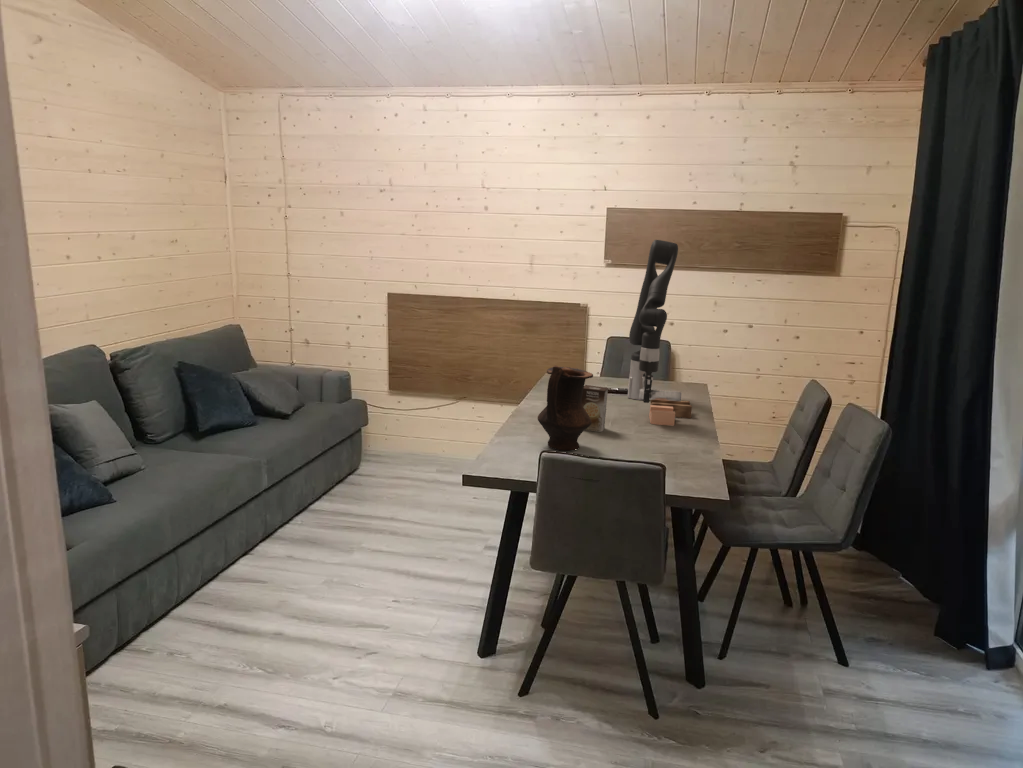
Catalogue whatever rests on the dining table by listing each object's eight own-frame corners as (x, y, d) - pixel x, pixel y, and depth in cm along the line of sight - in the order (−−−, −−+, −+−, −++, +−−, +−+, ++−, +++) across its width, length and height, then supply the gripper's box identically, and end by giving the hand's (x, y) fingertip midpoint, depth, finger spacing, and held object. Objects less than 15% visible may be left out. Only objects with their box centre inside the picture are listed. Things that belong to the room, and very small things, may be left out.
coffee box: (577, 429, 274) (580, 387, 271) (581, 425, 280) (584, 384, 276) (601, 432, 271) (604, 390, 268) (605, 428, 277) (608, 387, 274)
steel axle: (639, 399, 288) (640, 390, 287) (639, 397, 292) (640, 387, 291) (680, 402, 286) (681, 392, 286) (679, 400, 290) (680, 390, 289)
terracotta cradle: (650, 423, 286) (651, 411, 285) (649, 416, 297) (650, 405, 296) (674, 425, 285) (675, 413, 284) (671, 418, 296) (672, 406, 295)
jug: (551, 435, 264) (556, 354, 257) (598, 445, 255) (604, 361, 249) (522, 449, 246) (527, 362, 239) (572, 460, 237) (578, 370, 231)
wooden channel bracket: (651, 415, 300) (652, 403, 298) (649, 409, 308) (650, 398, 307) (690, 418, 298) (691, 406, 297) (688, 412, 306) (689, 401, 305)
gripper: (638, 355, 294) (635, 396, 297) (640, 361, 280) (637, 404, 283) (657, 356, 293) (654, 397, 296) (660, 362, 279) (656, 406, 283)
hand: (645, 401), depth 290 cm, fingers closed on steel axle, 4 cm apart
